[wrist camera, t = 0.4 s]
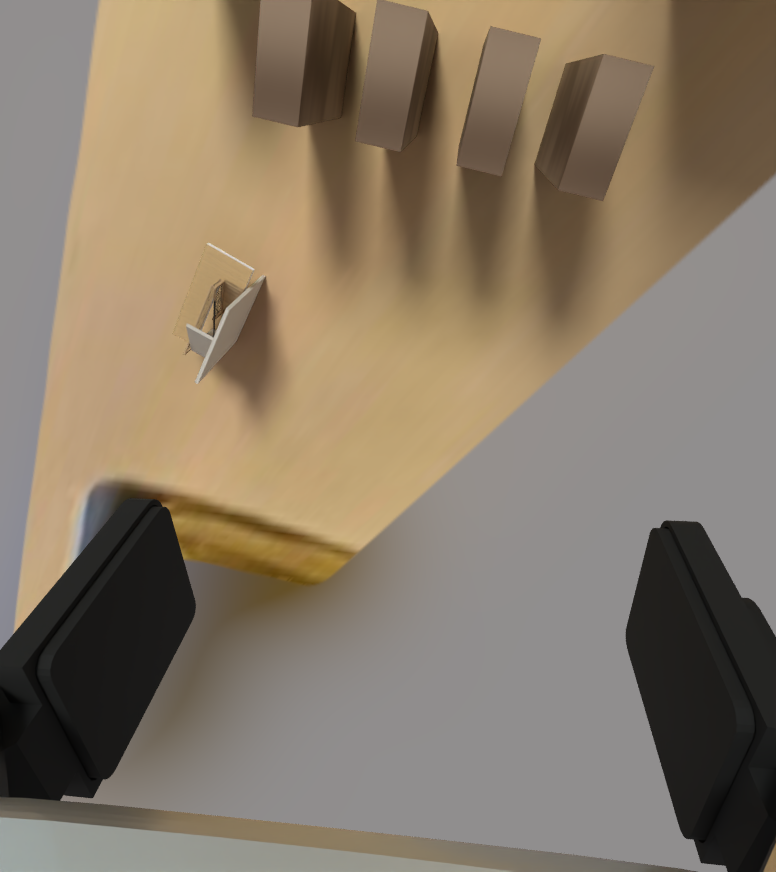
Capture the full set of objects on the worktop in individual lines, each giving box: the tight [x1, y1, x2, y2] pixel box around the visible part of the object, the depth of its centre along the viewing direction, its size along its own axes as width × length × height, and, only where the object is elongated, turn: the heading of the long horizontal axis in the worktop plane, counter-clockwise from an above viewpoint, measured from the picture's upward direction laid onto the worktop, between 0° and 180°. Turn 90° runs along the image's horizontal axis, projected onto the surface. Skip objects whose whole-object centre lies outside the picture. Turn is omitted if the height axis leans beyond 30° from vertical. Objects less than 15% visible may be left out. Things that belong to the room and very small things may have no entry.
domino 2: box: [355, 0, 438, 152], centre depth 28 cm, size 5×2×10 cm, turn 168°
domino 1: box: [252, 0, 356, 127], centre depth 28 cm, size 5×2×10 cm, turn 168°
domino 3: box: [457, 26, 541, 176], centre depth 28 cm, size 5×2×10 cm, turn 168°
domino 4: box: [535, 54, 654, 201], centre depth 28 cm, size 5×2×10 cm, turn 168°
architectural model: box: [173, 243, 266, 384], centre depth 37 cm, size 3×7×7 cm, turn 150°
